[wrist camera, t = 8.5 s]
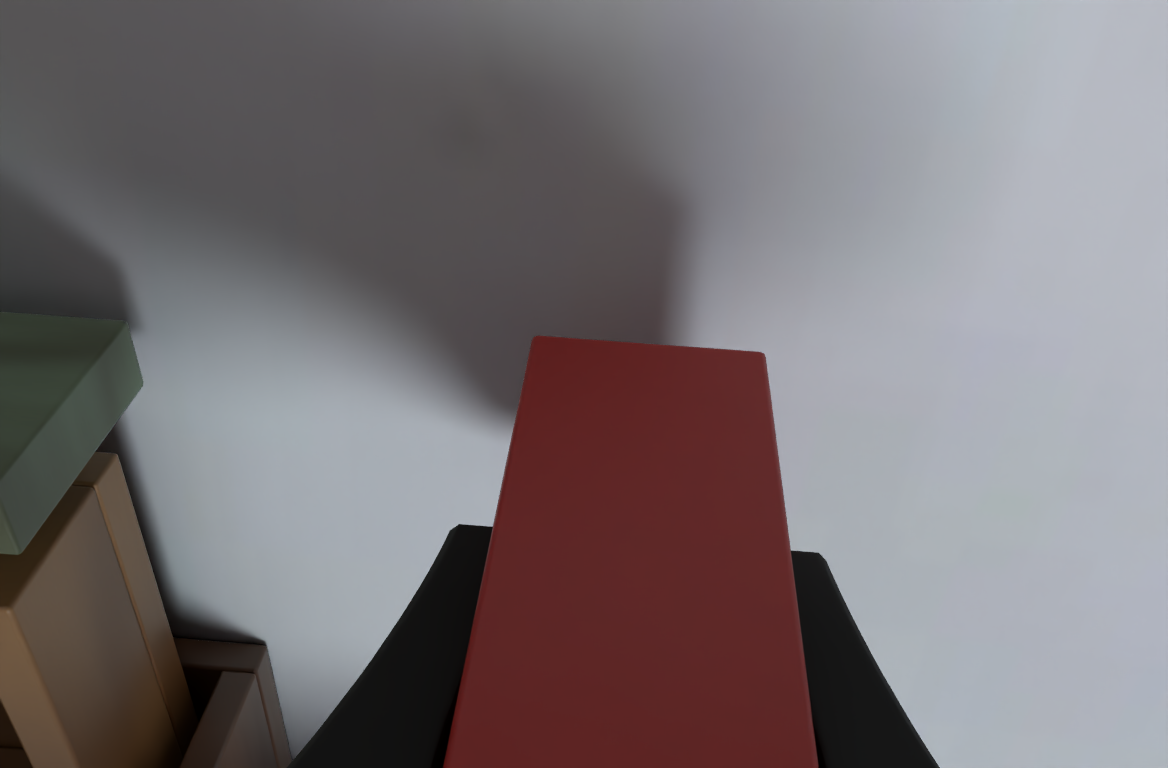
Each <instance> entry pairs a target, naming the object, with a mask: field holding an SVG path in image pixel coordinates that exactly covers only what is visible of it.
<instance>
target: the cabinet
mask: <svg viewBox="0 0 1168 768" xmlns="http://www.w3.org/2000/svg"><path fill="white" fill-rule="evenodd" d="M173 639H174V643H175V646H176V649H177V653H178V656H179V659H180V663H181V666H182V669H183V672H184V676H185V679H186V682H187V686H188V689H189V692H190V696H191V699H192V702H193V706H194V709H195V712H196V715H197V719H198V722H199V724H198V726H197V728H196V731H195V733H194V735H193V737H192V740H191V742H190V744H189V746H188V749H187V751H186V753H185V755H184V758H183V760H182V762H181V764H180V767H179V768H287V767H288V766H289V764H290V763H291V762H292V759H291V755H290V750H289V746H288V741H287V736H286V732H285V727H284V723H283V718H282V714H281V709H280V705H279V700H278V696H277V691H276V687H275V682H274V678H273V673H272V669H271V664H270V660H269V655H268V651H267V647H266V646H264V645H257V644H245V643H233V642H221V641H209V640H197V639H185V638H173Z"/></svg>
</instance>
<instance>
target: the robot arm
mask: <svg viewBox="0 0 1168 768" xmlns="http://www.w3.org/2000/svg"><path fill="white" fill-rule="evenodd" d="M492 529H493V527H487V526H474V525H462V524H459V525H458V526H456V527H455V528H453V529H452V530H450V532H449V534H448V536H447V538H446V540H445V542H444V544H443V546H442V548H441V550H440V552H439V554H438V556H437V557H436V559H435V561H434V563H433V565H432V567H431V568H430V570H429V572H428V574H427V575H426V577H425V579H424V580H423V582H422V584H421V586H420V587H419V589H418V590H417V592H416V594H415V595H414V597H413V598H412V600H411V602H410V603H409V605H408V607H407V608H406V610H405V611H404V613H403V614H402V616H401V618H400V619H399V620H398V622H397V623H396V625H395V626H394V628H393V629H392V631H391V632H390V634H389V635H388V637H387V638H386V640H385V641H384V642H383V644H382V645H381V647H380V648H379V650H378V651H377V653H376V654H375V656H374V657H373V659H372V660H371V662H370V663H369V664H368V666H367V667H366V669H365V670H364V671H363V673H362V674H361V675H360V677H359V678H358V679H357V681H356V682H355V683H354V685H353V686H352V687H351V688H350V690H349V691H348V692H347V694H346V695H345V696H344V698H343V699H342V700H341V701H340V703H339V704H338V705H337V707H336V708H335V709H334V711H333V712H332V713H331V714H330V716H329V717H328V718H327V720H326V721H325V722H324V724H323V725H322V726H321V727H320V729H319V730H318V731H317V732H316V734H315V735H314V736H313V737H312V738H311V740H310V741H309V742H308V743H307V744H306V746H305V747H304V748H303V749H302V750H301V752H300V753H299V754H298V755H297V756H296V758H295V759H294V760H293V761H292V762H291V763H290V764H289V766H288V767H287V768H443V764H444V759H445V755H446V750H447V745H448V740H449V735H450V731H451V726H452V721H453V716H454V711H455V707H456V702H457V697H458V692H459V687H460V682H461V678H462V673H463V668H464V663H465V658H466V654H467V649H468V644H469V639H470V634H471V630H472V625H473V620H474V615H475V610H476V606H477V601H478V596H479V591H480V586H481V582H482V577H483V572H484V567H485V562H486V558H487V553H488V548H489V543H490V538H491V534H492ZM791 557H792V564H793V572H794V580H795V588H796V595H797V603H798V611H799V618H800V626H801V634H802V642H803V649H804V657H805V665H806V672H807V680H808V688H809V696H810V703H811V711H812V719H813V727H814V734H815V742H816V750H817V757H818V765H819V768H940V767H939V766H938V764H937V763H936V761H935V760H934V758H933V757H932V755H931V754H930V752H929V751H928V749H927V748H926V746H925V744H924V743H923V741H922V740H921V738H920V736H919V735H918V733H917V732H916V730H915V728H914V727H913V725H912V723H911V722H910V720H909V718H908V717H907V715H906V713H905V712H904V710H903V708H902V706H901V705H900V703H899V701H898V700H897V698H896V696H895V694H894V693H893V691H892V689H891V688H890V686H889V684H888V683H887V681H886V679H885V677H884V676H883V674H882V672H881V670H880V669H879V667H878V665H877V663H876V661H875V659H874V658H873V656H872V654H871V652H870V650H869V648H868V646H867V645H866V643H865V641H864V639H863V637H862V635H861V633H860V631H859V629H858V627H857V625H856V623H855V621H854V619H853V617H852V615H851V613H850V611H849V609H848V607H847V605H846V603H845V601H844V599H843V597H842V595H841V593H840V591H839V589H838V586H837V584H836V582H835V580H834V578H833V575H832V573H831V571H830V569H829V566H828V564H827V562H826V560H825V559H824V558H823V557H822V556H821V555H820V554H819V553H814V552H802V551H791Z"/></svg>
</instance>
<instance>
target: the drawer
mask: <svg viewBox="0 0 1168 768" xmlns="http://www.w3.org/2000/svg"><path fill="white" fill-rule="evenodd" d="M142 386H143V379H142V375H141V371H140V368H139V364H138V360H137V356H136V353H135V349H134V345H133V341H132V338H131V334H130V330H129V327H128V323H127V322H126V321H121V320H107V319H94V318H80V317H66V316H53V315H39V314H25V313H12V312H0V768H179V767H180V764H181V762H182V760H183V758H184V755H185V753H186V751H187V749H188V746H189V744H190V742H191V740H192V737H193V735H194V733H195V731H196V728H197V726H198V724H199V722H198V719H197V715H196V712H195V709H194V706H193V702H192V699H191V696H190V692H189V689H188V686H187V682H186V679H185V676H184V672H183V669H182V666H181V663H180V659H179V656H178V653H177V649H176V646H175V643H174V639H173V636H172V633H171V629H170V626H169V623H168V619H167V616H166V613H165V610H164V606H163V603H162V600H161V596H160V593H159V590H158V586H157V583H156V580H155V576H154V573H153V570H152V567H151V563H150V560H149V557H148V553H147V550H146V547H145V543H144V540H143V537H142V533H141V530H140V527H139V523H138V520H137V517H136V514H135V510H134V507H133V504H132V500H131V497H130V494H129V490H128V487H127V484H126V480H125V477H124V474H123V471H122V467H121V464H120V461H119V457H118V455H117V454H115V453H106V452H95V451H96V450H97V449H98V447H99V446H100V444H101V443H102V442H103V440H104V439H105V438H106V436H107V435H108V433H109V432H110V431H111V429H112V428H113V426H114V425H115V424H116V422H117V421H118V420H119V418H120V417H121V415H122V414H123V413H124V411H125V410H126V409H127V407H128V406H129V404H130V403H131V402H132V400H133V399H134V397H135V396H136V395H137V393H138V392H139V391H140V389H141V388H142Z"/></svg>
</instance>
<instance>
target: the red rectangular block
mask: <svg viewBox="0 0 1168 768" xmlns="http://www.w3.org/2000/svg"><path fill="white" fill-rule="evenodd" d="M443 768H819V765H818V757H817V750H816V742H815V734H814V727H813V719H812V711H811V703H810V696H809V688H808V680H807V672H806V665H805V657H804V649H803V642H802V634H801V626H800V618H799V611H798V603H797V595H796V588H795V580H794V572H793V564H792V557H791V549H790V541H789V534H788V526H787V518H786V510H785V503H784V495H783V487H782V480H781V472H780V464H779V456H778V449H777V441H776V433H775V426H774V418H773V410H772V402H771V395H770V387H769V379H768V372H767V364H766V357H765V354H764V353H762V352H755V351H741V350H727V349H714V348H700V347H687V346H673V345H660V344H646V343H633V342H619V341H606V340H592V339H579V338H565V337H551V336H534V337H533V339H532V341H531V346H530V351H529V356H528V361H527V366H526V370H525V375H524V380H523V385H522V390H521V394H520V399H519V404H518V409H517V414H516V418H515V423H514V428H513V433H512V438H511V442H510V447H509V452H508V457H507V462H506V466H505V471H504V476H503V481H502V486H501V490H500V495H499V500H498V505H497V510H496V514H495V519H494V524H493V529H492V534H491V538H490V543H489V548H488V553H487V558H486V562H485V567H484V572H483V577H482V582H481V586H480V591H479V596H478V601H477V606H476V610H475V615H474V620H473V625H472V630H471V634H470V639H469V644H468V649H467V654H466V658H465V663H464V668H463V673H462V678H461V682H460V687H459V692H458V697H457V702H456V707H455V711H454V716H453V721H452V726H451V731H450V735H449V740H448V745H447V750H446V755H445V759H444V764H443Z"/></svg>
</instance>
